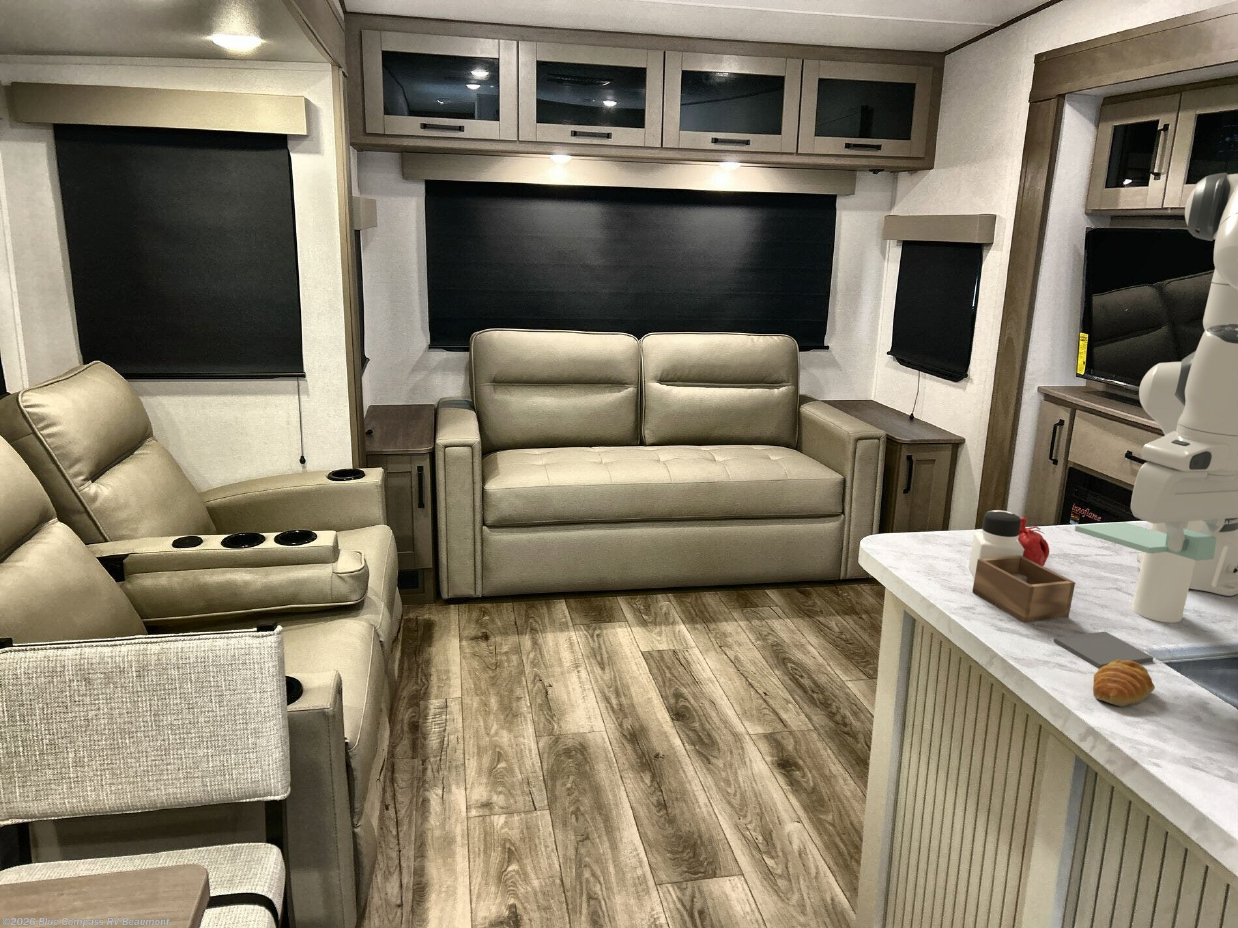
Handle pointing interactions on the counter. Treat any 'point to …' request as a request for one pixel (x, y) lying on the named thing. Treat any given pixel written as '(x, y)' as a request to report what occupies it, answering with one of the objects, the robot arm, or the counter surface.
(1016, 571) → the wooden box
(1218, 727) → the counter surface
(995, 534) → the medicine bottle
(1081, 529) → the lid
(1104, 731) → the counter surface
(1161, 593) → the cylindrical container
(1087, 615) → the counter surface
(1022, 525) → the pomegranate
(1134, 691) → the pastry
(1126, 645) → the mat
